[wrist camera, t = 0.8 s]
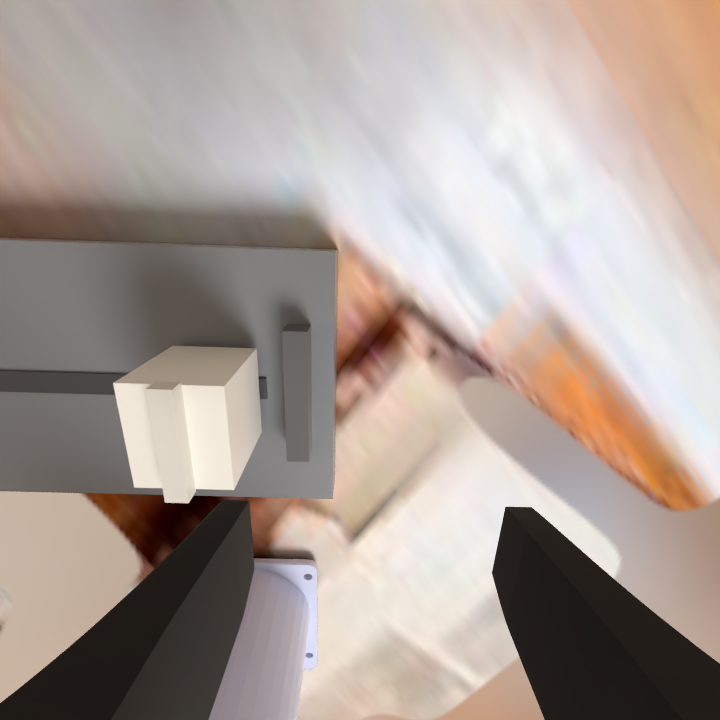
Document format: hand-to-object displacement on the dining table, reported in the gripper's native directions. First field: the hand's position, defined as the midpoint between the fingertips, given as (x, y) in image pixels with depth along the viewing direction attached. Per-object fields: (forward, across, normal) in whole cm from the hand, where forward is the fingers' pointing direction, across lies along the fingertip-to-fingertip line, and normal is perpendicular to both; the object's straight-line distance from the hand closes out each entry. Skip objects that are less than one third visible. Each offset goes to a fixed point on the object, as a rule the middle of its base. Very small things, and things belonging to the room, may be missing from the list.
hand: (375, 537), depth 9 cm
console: (+10, +16, 0) cm, 19 cm away
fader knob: (+8, +6, 0) cm, 10 cm away
